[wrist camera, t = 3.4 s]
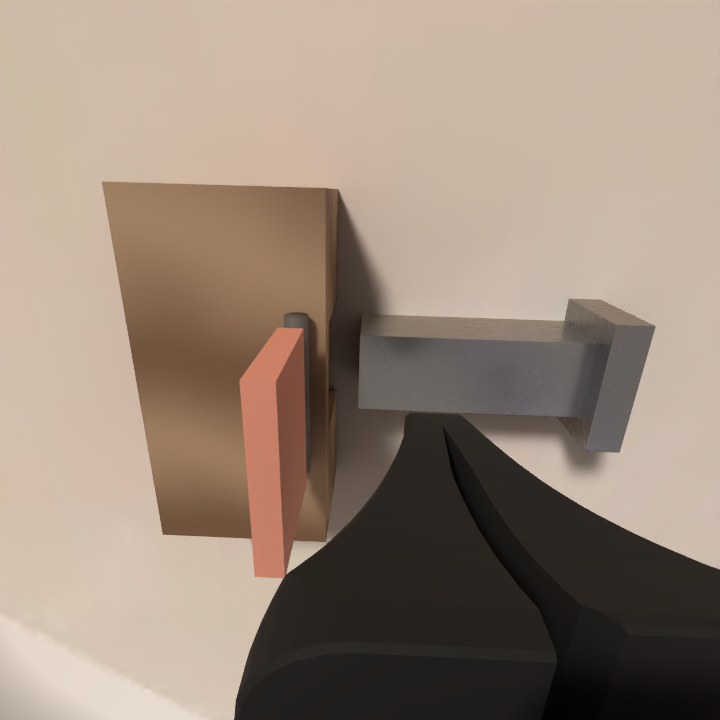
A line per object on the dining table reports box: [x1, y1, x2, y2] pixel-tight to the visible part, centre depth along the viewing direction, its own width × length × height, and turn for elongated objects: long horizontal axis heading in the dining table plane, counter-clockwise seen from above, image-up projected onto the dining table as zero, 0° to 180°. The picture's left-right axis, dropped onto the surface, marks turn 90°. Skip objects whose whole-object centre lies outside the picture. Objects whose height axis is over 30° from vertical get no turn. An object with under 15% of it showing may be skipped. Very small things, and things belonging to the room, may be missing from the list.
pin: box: [358, 299, 655, 452], centre depth 16 cm, size 5×9×4 cm, turn 88°
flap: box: [239, 328, 307, 578], centre depth 11 cm, size 5×1×4 cm, turn 178°
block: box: [102, 182, 338, 542], centre depth 15 cm, size 12×6×5 cm, turn 178°
